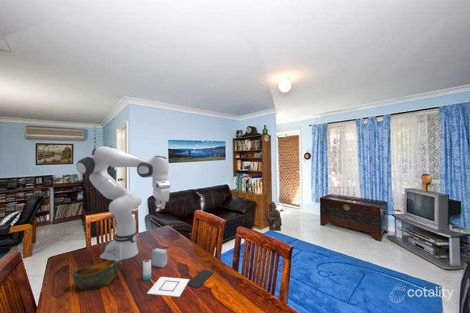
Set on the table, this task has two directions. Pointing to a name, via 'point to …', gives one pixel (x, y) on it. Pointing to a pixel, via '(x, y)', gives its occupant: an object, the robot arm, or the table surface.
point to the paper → (169, 286)
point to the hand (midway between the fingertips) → (160, 206)
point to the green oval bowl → (96, 275)
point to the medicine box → (159, 257)
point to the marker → (147, 269)
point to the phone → (200, 279)
